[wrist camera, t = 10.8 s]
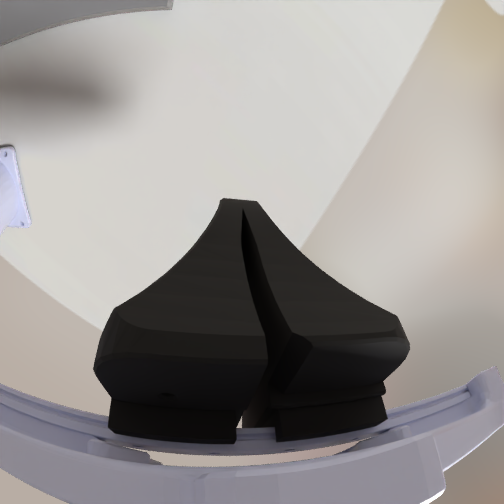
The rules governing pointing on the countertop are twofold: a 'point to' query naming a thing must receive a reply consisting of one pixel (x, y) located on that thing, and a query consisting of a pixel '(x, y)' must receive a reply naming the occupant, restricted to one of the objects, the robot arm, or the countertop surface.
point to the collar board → (62, 13)
